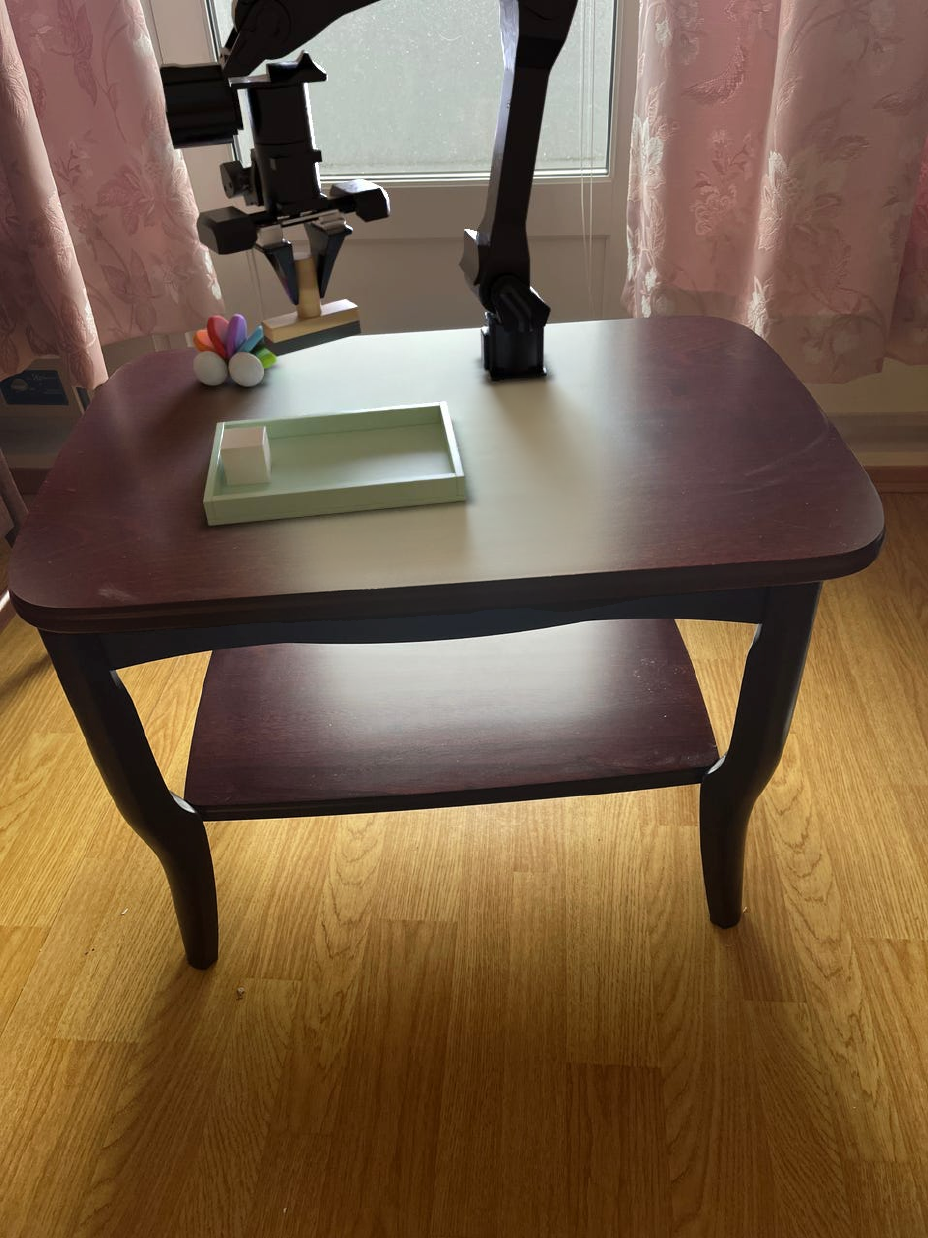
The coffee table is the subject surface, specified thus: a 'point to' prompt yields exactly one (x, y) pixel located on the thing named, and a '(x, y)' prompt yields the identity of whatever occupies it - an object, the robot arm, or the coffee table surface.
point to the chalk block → (246, 456)
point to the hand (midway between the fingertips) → (307, 300)
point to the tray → (343, 464)
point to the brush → (310, 316)
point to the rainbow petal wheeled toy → (231, 352)
